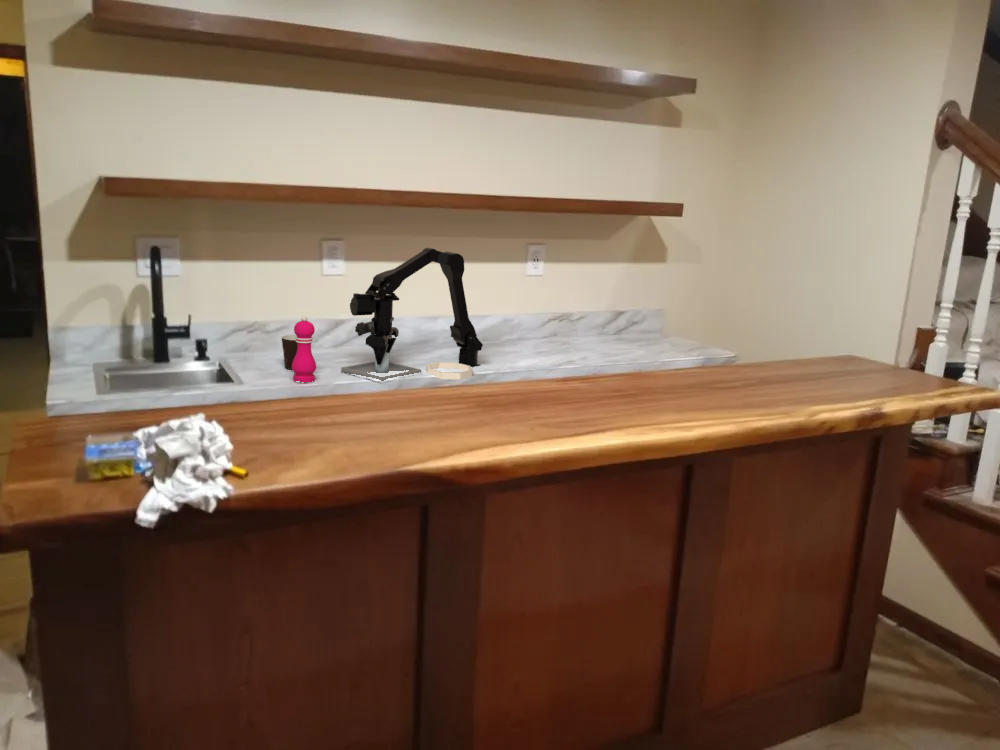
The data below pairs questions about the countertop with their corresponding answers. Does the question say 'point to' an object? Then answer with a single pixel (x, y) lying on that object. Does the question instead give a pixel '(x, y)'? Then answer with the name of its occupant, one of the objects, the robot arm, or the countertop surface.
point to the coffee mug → (289, 350)
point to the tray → (370, 367)
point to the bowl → (449, 374)
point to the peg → (383, 365)
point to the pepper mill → (304, 352)
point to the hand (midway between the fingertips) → (381, 362)
